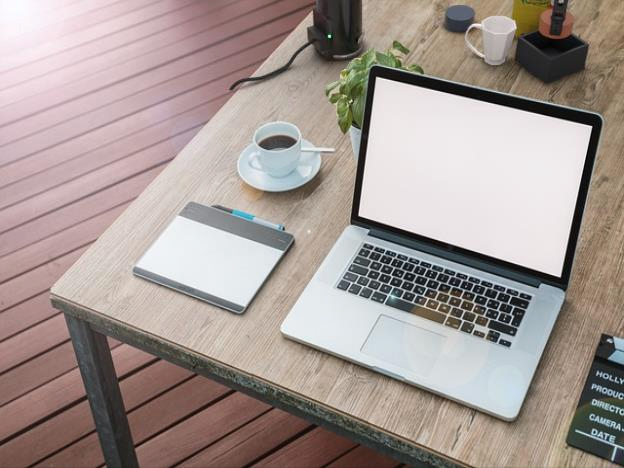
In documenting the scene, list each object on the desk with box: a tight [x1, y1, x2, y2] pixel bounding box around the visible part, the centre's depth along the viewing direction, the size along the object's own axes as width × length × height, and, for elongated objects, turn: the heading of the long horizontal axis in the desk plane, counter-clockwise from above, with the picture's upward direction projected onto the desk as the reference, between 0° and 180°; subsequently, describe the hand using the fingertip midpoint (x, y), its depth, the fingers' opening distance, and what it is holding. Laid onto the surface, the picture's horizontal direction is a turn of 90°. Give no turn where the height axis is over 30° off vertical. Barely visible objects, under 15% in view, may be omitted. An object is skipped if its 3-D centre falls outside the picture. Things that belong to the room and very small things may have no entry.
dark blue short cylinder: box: [444, 4, 476, 33], centre depth 179 cm, size 6×6×3 cm
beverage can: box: [510, 0, 553, 40], centre depth 173 cm, size 9×9×12 cm
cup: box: [464, 15, 516, 66], centre depth 168 cm, size 7×10×8 cm
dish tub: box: [514, 29, 590, 85], centre depth 167 cm, size 10×10×6 cm
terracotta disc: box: [539, 9, 575, 39], centre depth 162 cm, size 6×6×3 cm
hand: (556, 25), depth 162 cm, fingers closed on terracotta disc, 6 cm apart
